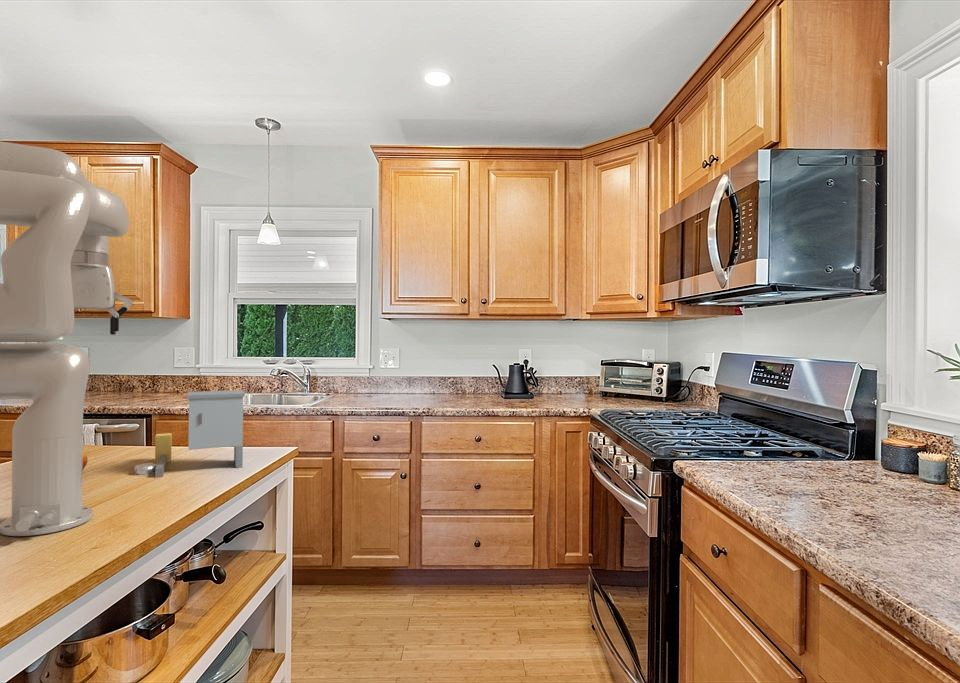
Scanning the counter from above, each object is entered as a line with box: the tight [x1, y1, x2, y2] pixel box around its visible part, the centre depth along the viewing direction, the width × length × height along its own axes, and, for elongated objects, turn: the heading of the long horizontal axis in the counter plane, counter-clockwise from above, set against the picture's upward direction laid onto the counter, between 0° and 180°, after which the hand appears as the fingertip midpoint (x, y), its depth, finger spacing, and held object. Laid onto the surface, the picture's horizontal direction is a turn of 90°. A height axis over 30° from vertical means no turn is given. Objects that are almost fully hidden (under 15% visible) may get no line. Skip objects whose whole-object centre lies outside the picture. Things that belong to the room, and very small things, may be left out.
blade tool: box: [154, 432, 173, 478], centre depth 130 cm, size 19×4×7 cm, turn 29°
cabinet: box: [187, 389, 246, 469], centre depth 132 cm, size 9×13×19 cm
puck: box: [134, 462, 157, 476], centre depth 125 cm, size 4×4×2 cm
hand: (88, 334), depth 122 cm, fingers open, 9 cm apart
